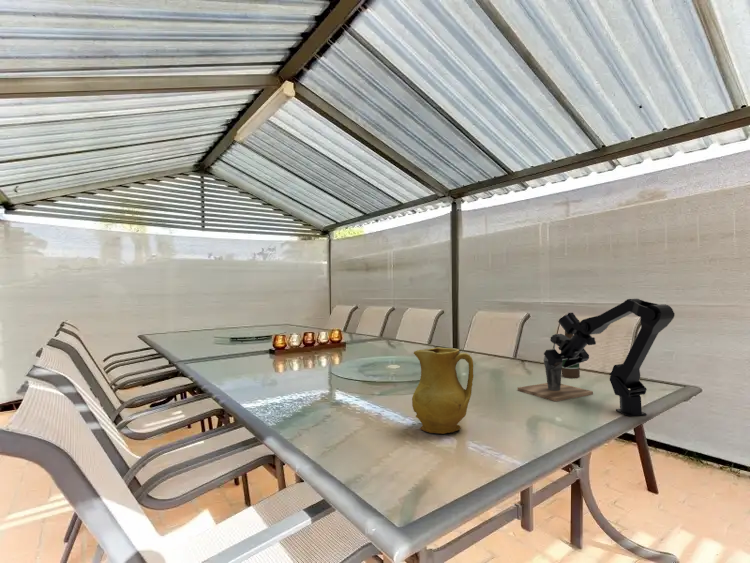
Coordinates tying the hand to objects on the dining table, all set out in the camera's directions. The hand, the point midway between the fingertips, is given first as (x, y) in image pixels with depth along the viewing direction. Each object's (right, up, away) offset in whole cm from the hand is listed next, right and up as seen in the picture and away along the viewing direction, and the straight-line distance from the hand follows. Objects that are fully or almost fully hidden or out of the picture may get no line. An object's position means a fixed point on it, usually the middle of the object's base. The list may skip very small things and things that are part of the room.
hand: (555, 368), depth 169 cm
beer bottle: (+19, -10, +28) cm, 36 cm away
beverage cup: (0, -9, +1) cm, 9 cm away
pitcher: (-52, -11, -38) cm, 65 cm away
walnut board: (0, -10, +1) cm, 10 cm away
